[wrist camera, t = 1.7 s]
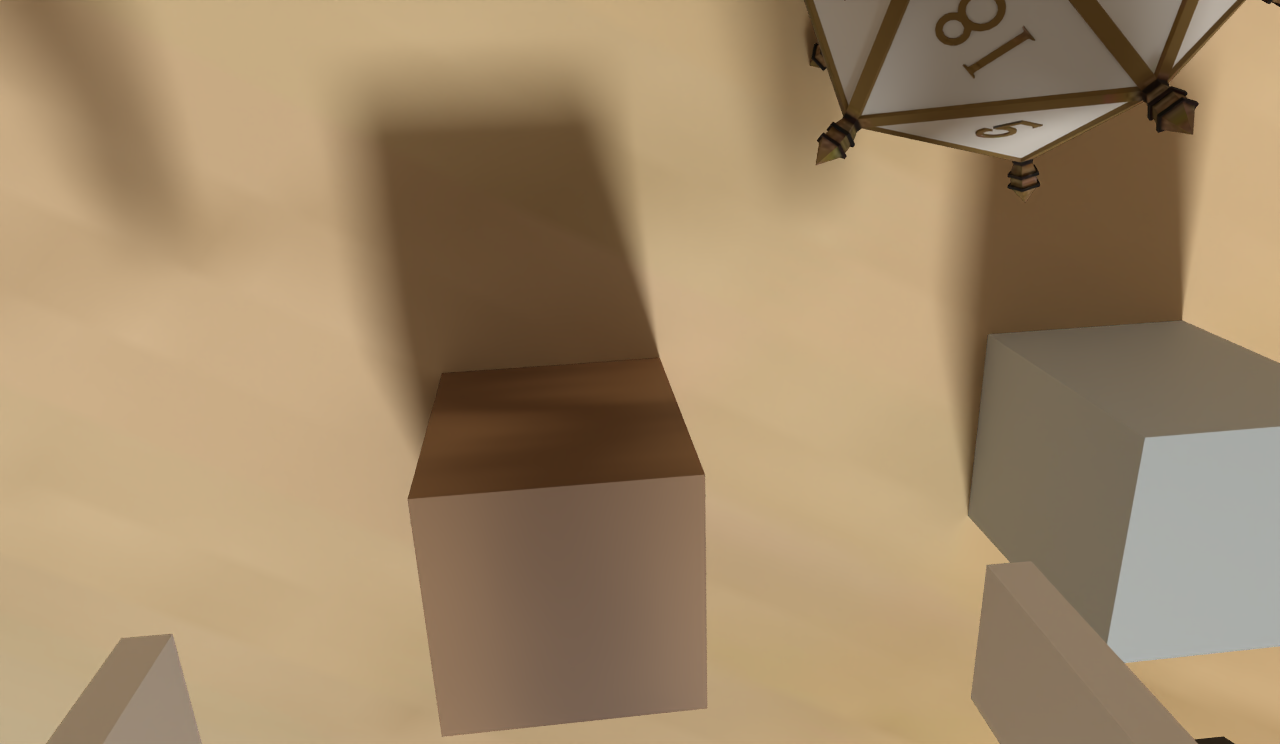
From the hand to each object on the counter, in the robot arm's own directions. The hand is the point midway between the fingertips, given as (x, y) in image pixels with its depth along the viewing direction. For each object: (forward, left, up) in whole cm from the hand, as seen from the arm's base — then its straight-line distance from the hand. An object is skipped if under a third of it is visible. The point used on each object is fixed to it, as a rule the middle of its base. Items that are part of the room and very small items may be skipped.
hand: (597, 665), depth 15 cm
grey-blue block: (+13, 0, -8) cm, 15 cm away
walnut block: (0, 0, -8) cm, 8 cm away
